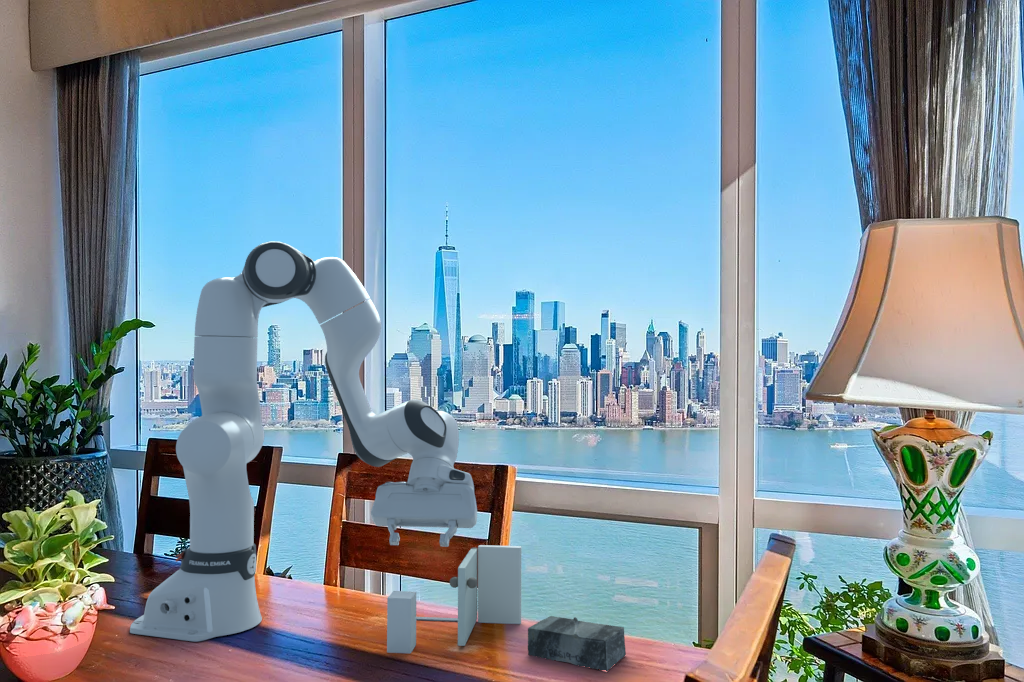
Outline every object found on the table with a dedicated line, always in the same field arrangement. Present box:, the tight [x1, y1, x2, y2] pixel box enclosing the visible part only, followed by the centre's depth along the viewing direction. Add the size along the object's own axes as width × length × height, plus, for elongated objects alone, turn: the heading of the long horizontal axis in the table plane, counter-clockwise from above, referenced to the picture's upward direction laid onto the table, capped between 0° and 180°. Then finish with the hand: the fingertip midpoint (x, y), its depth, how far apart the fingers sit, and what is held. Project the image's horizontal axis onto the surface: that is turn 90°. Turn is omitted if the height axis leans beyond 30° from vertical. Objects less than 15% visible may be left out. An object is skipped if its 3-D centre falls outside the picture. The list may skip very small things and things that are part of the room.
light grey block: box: [386, 590, 417, 654], centre depth 130 cm, size 4×4×9 cm
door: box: [449, 547, 478, 647], centre depth 138 cm, size 15×5×13 cm, turn 174°
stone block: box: [527, 615, 627, 672], centre depth 128 cm, size 9×14×5 cm, turn 58°
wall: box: [416, 544, 522, 625], centre depth 145 cm, size 23×1×14 cm, turn 84°
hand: (418, 544), depth 143 cm, fingers open, 8 cm apart
